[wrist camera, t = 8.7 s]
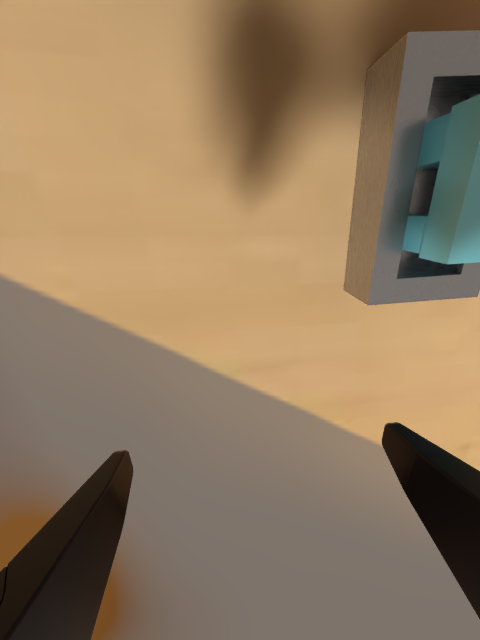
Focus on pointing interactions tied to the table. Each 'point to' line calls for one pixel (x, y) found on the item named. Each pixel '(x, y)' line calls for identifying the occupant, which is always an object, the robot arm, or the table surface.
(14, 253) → the table surface
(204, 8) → the table surface
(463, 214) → the light blue rectangular block
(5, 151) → the table surface
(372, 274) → the grey slotted tray
